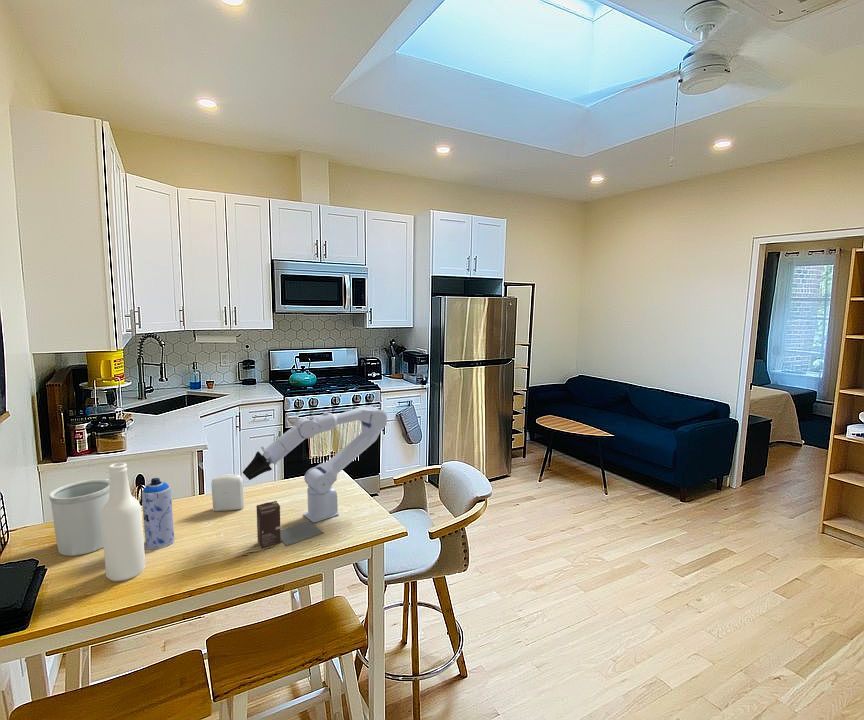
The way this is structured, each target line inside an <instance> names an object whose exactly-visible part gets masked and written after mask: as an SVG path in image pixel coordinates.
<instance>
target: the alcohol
mask: <svg viewBox="0 0 864 720" xmlns="http://www.w3.org/2000/svg"><path fill="white" fill-rule="evenodd" d="M127 466H128V464H127V463H126V462H114V463H112V464H110V465H109V466H108V467H107V468H108V474H109V476H108V477H109V479H108V480H109V500H108V502H107V503H106V504H105V506H104V507H103V509H102V513H101V522H102V533H103V545H104V547H103V552H104V553H103V554H104V564H105V565H104V566H105V576H106V578H108V580H110V581H112V582H124V581H127V580H132V579H133V578H136V577H137V576H139V575H140V574H141V573H142V572H143V571H144V570H145V567H146V556H145V553H146V551H145V541H144V540H145V538H144V525H143V512H142V506H141V504H140V502H139V500H138V499H137V498H135V497H134V496H133V495H132V494H131V493H132V492H131V487H130V482H129V477H128V476H129V475H128V467H127Z"/></svg>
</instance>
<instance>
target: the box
mask: <svg viewBox="0 0 864 720" xmlns="http://www.w3.org/2000/svg"><path fill="white" fill-rule="evenodd" d="M256 529H257V530H256V532H257V533H256V534H257V544H258V547H260V548H261V549H262V548H266V547H270V546H273V545H277V544H280V543H281V542H282V541H281V537H280V530H281V505H280V504H279V503H278V502H277V500H274V501H271V502H265V503H261V504H256Z"/></svg>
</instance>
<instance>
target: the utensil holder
mask: <svg viewBox="0 0 864 720" xmlns="http://www.w3.org/2000/svg"><path fill="white" fill-rule="evenodd" d="M48 499H49V501H50V503H51V510H52V517H53V518H52V519H53V528H54V534H55V541H56V546H57V550H58V553H59V554H60V555H62V556H65V557H67V556H68V557H69V556H70V557H72V556H74V557H75V556H80V555H81V556H82V555H85V554H89V553H93V552H95V551H99V550H101V549H104V545H103V533H102V522H101V513H102V509H103V507H104V506H105V504H106V503H107V502H108V500H109V479H105V478H94V479H85V480H80V481H75V482H71V483H68V484H64V485H62V486H60V487H58V488H55V489H54V490H52V491H51V492H49V494H48Z"/></svg>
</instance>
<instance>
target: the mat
mask: <svg viewBox="0 0 864 720" xmlns="http://www.w3.org/2000/svg"><path fill="white" fill-rule="evenodd" d="M323 534H324V532H323V530H321V529H320V528H319V527H317V526H316V525H315V524H314V523H313V522H312V521H311V520H307V521H305V522H302V523H299V524H295V525H292V526H289V527H286V528H282V529H280V537H281V542H282V543H283V544H284V545H285V546H286V547H288V546H291V545H293V544H296V543H299V542H303V541H306V540H308V539H312V538H314V537H317V536H321V535H323Z"/></svg>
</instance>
